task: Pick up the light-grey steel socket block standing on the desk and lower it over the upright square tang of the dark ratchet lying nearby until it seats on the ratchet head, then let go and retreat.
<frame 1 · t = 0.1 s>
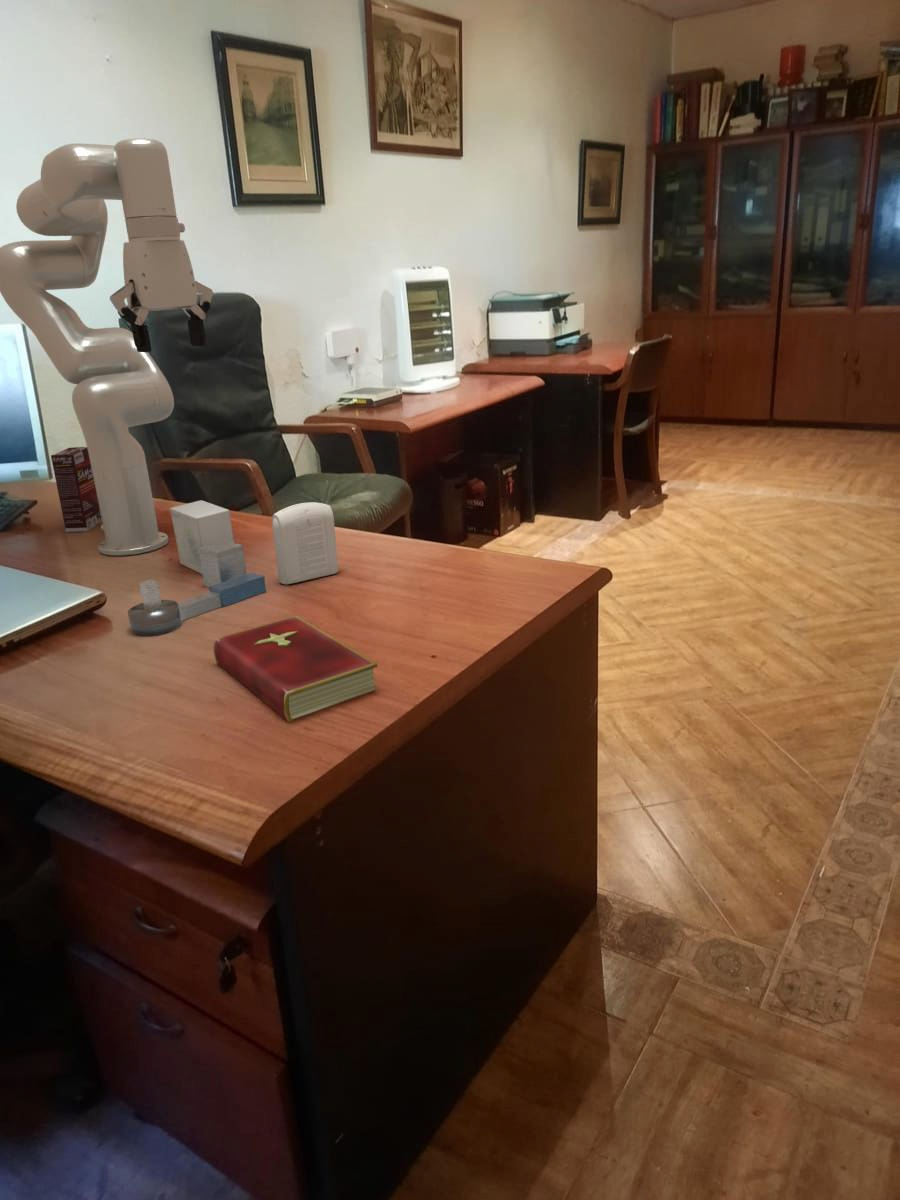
hand: (172, 348, 139), 37 cm above the table, tool pointing down, fingers open, 9 cm apart
hardcover book: (294, 681, 110), on the table
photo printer: (309, 578, 145), on the table
socket: (226, 584, 144), on the table
supplement box: (85, 527, 183), on the table
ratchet: (156, 626, 128), on the table
skincare box: (208, 567, 154), on the table
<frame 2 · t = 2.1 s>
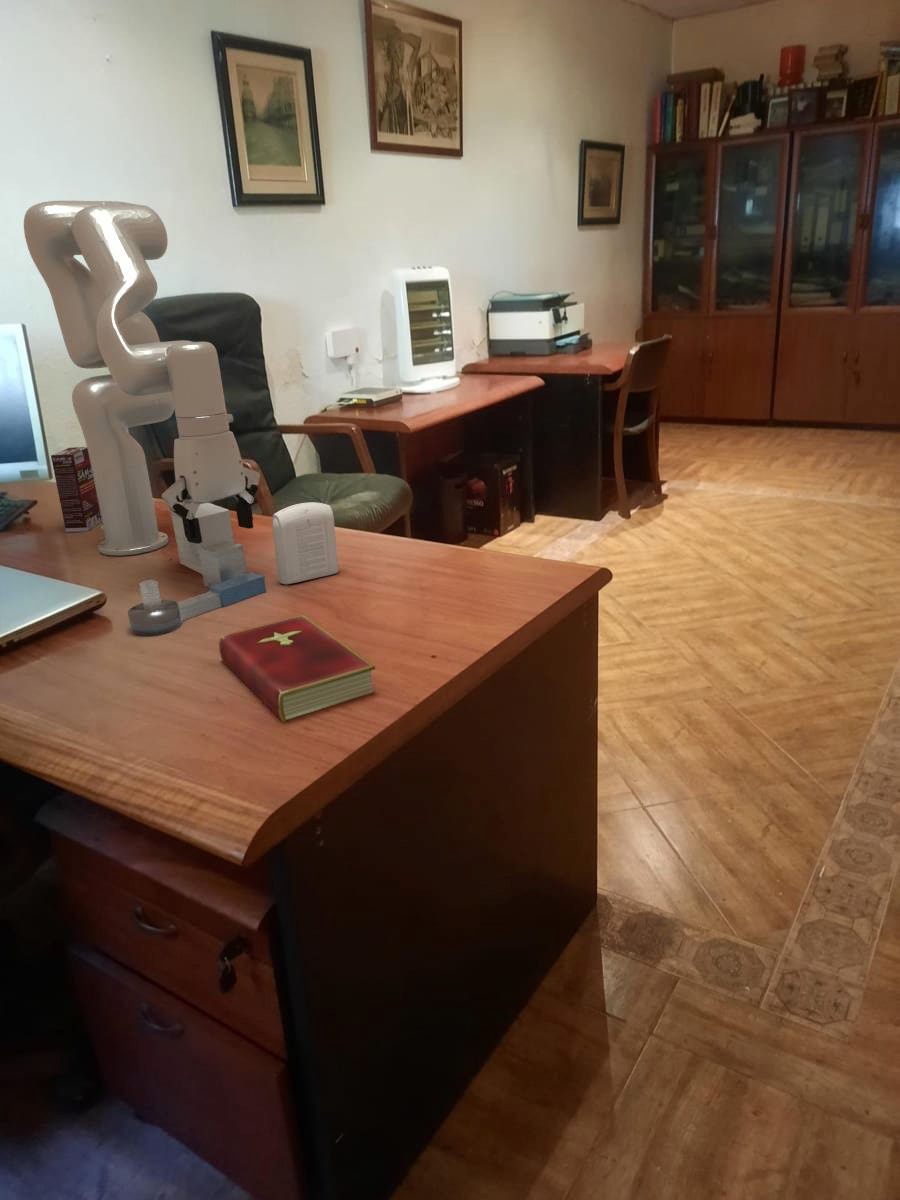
hand: (221, 534, 140), 9 cm above the table, tool pointing down, fingers open, 9 cm apart
nothing on the table moved.
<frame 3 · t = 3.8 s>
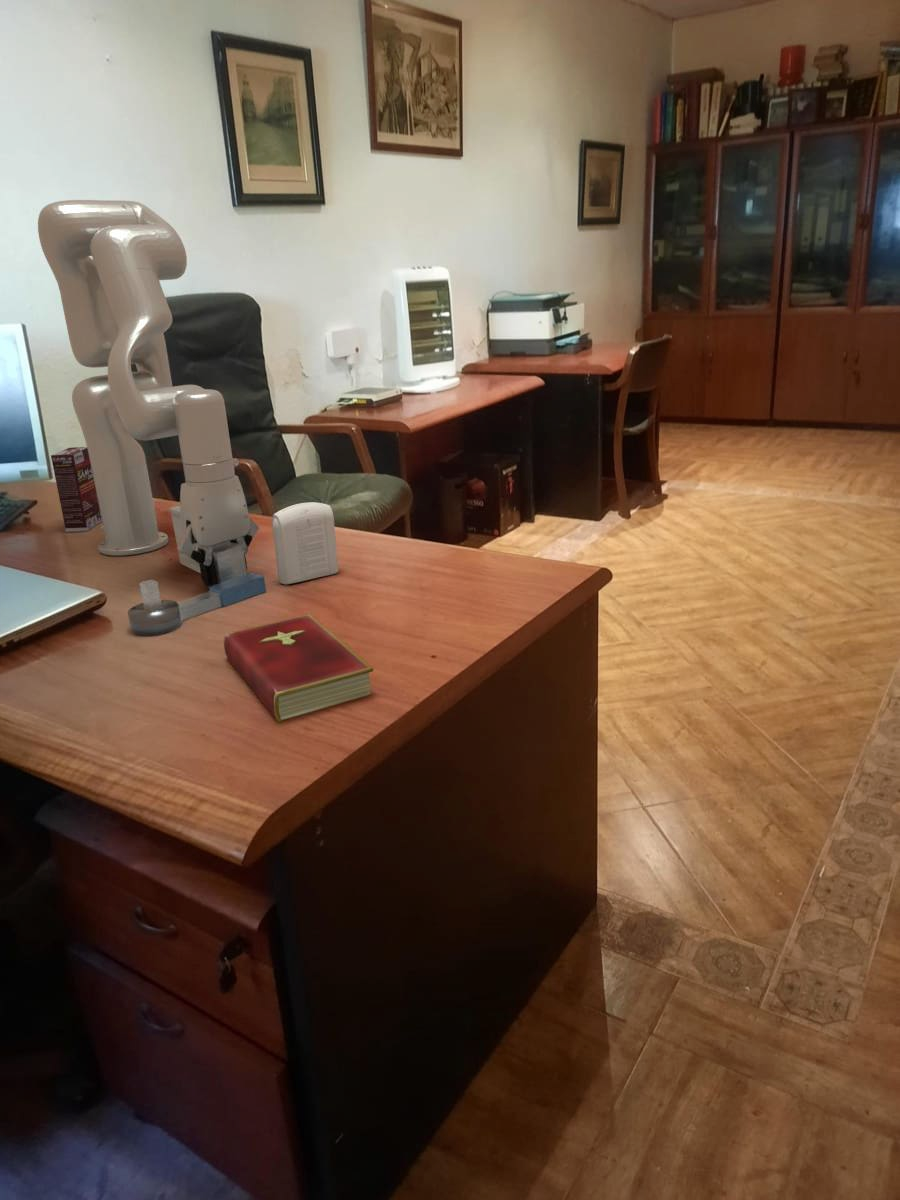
hand: (225, 580, 144), 1 cm above the table, tool pointing down, fingers closed on socket, 5 cm apart
socket: (226, 584, 144), on the table, touching gripper
everything else where it was.
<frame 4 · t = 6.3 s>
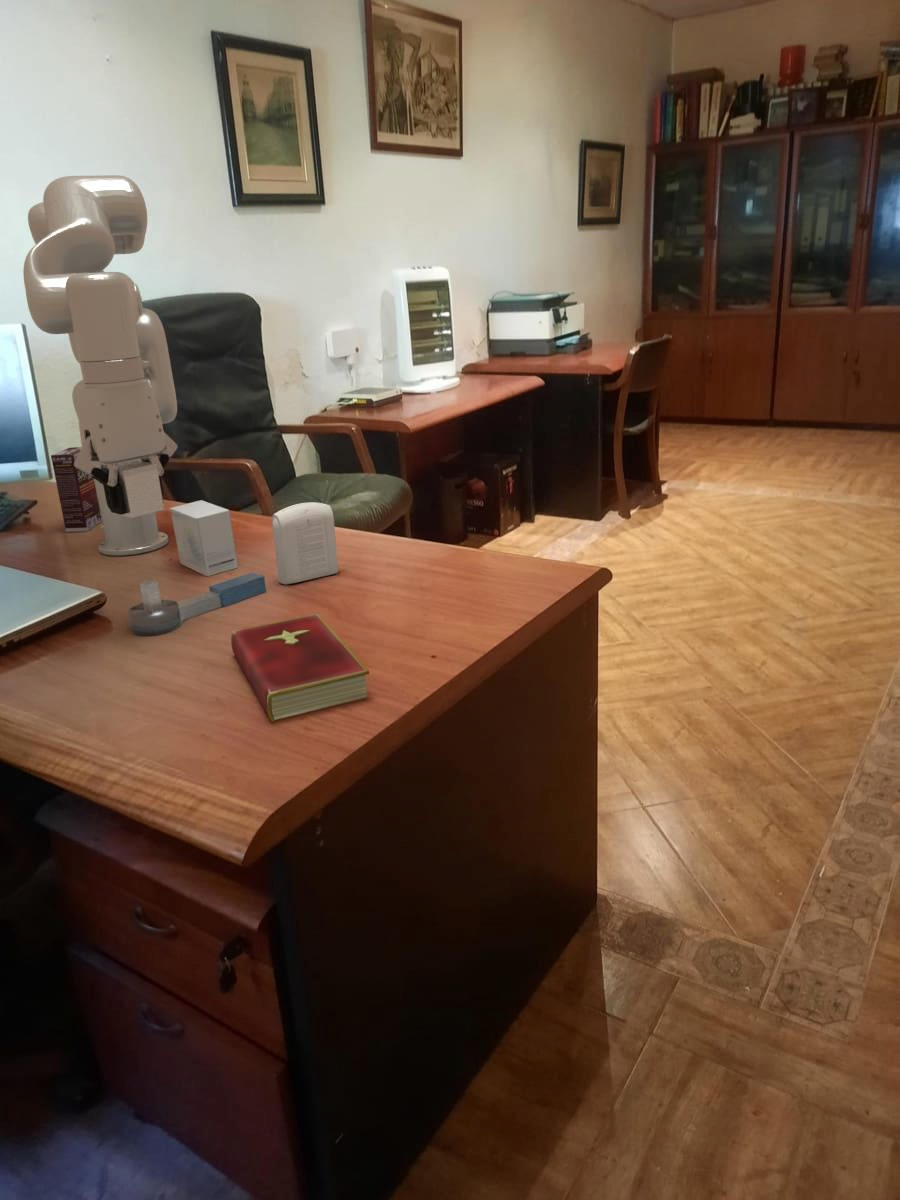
hand: (137, 506, 122), 18 cm above the table, tool pointing down, fingers closed on socket, 5 cm apart
socket: (138, 511, 122), point 17 cm above the table, touching gripper
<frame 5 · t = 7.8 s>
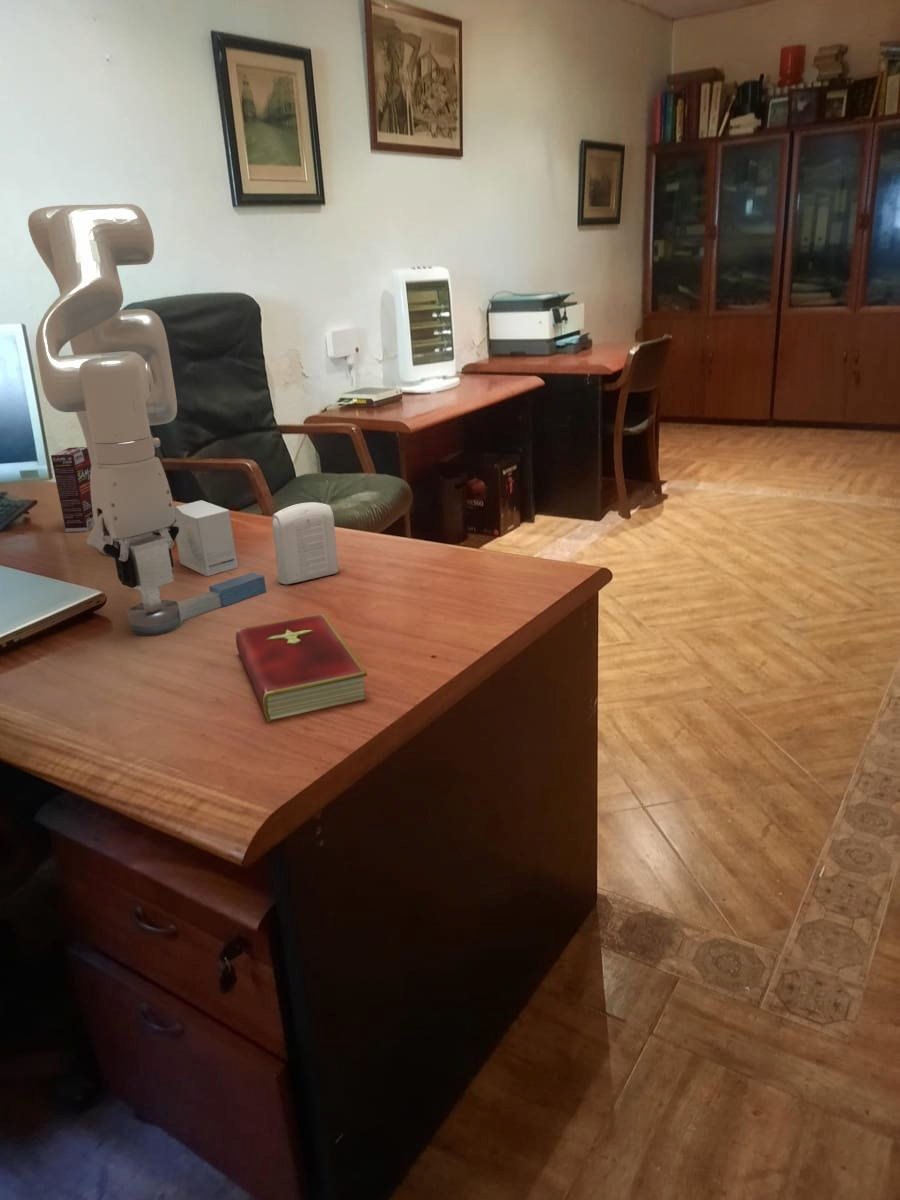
hand: (147, 578, 125), 7 cm above the table, tool pointing down, fingers closed on socket, 5 cm apart
socket: (148, 582, 125), point 7 cm above the table, touching gripper
when the fingers open (5 cm above the table, at t = 9.1 s): socket drops 1 cm, resting on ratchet.
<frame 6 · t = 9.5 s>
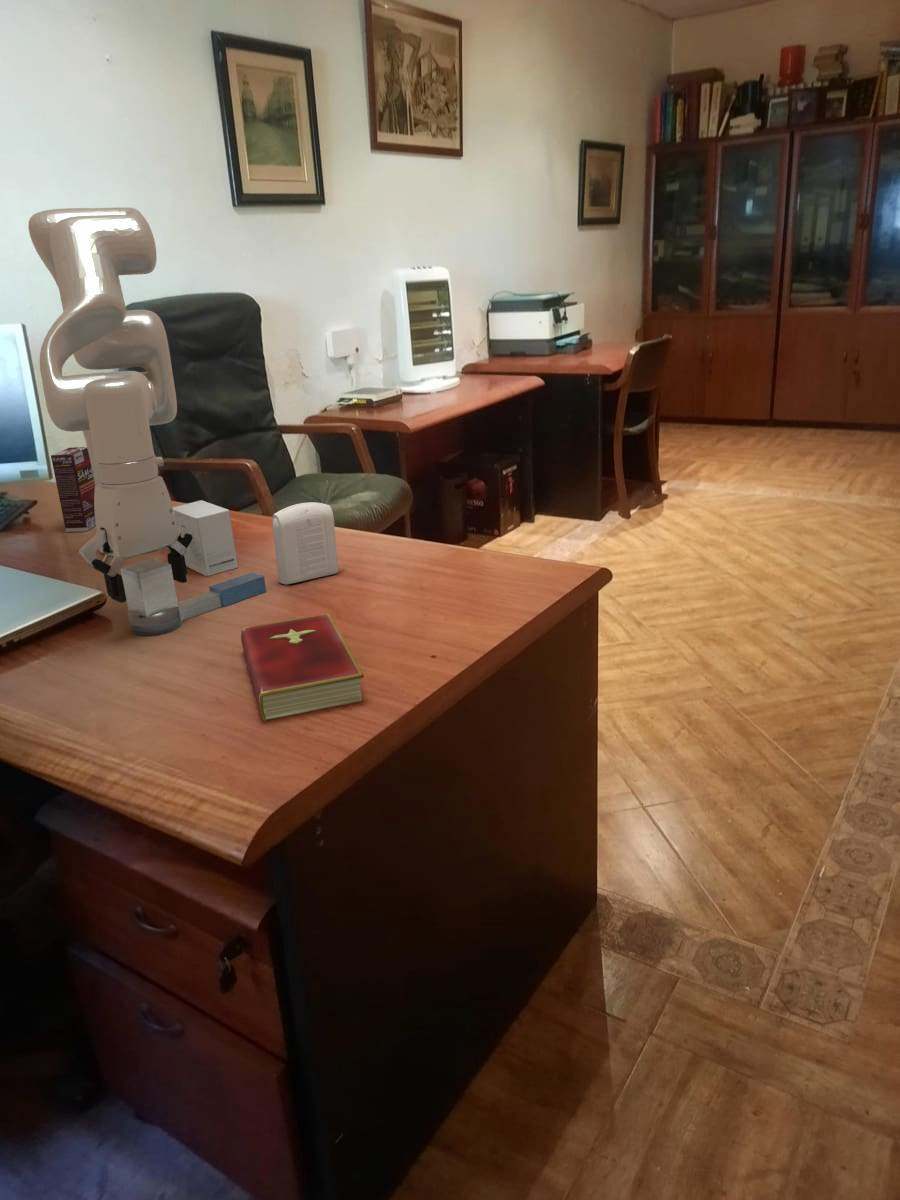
hand: (149, 590, 126), 6 cm above the table, tool pointing down, fingers open, 9 cm apart
socket: (153, 608, 127), point 3 cm above the table, touching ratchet
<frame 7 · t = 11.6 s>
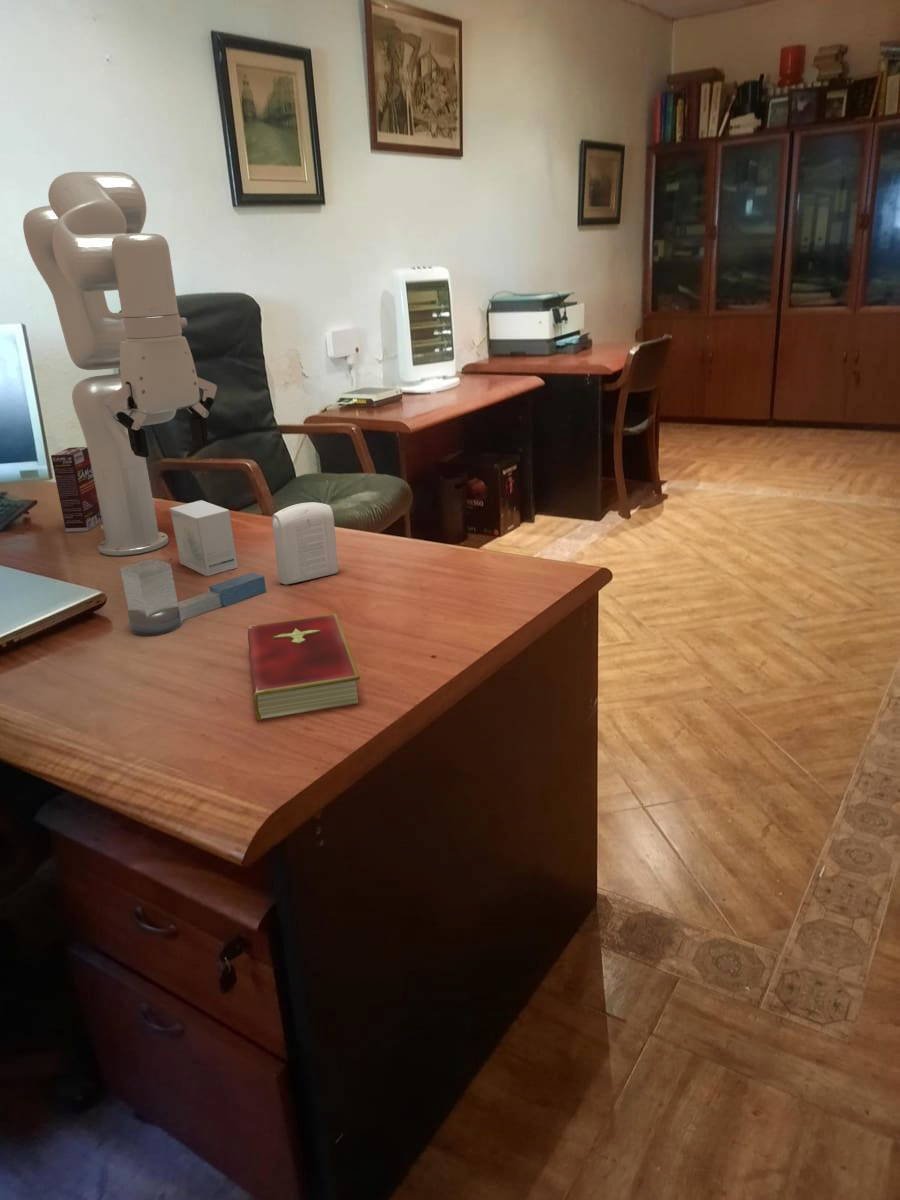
hand: (171, 449, 130), 23 cm above the table, tool pointing down, fingers open, 9 cm apart
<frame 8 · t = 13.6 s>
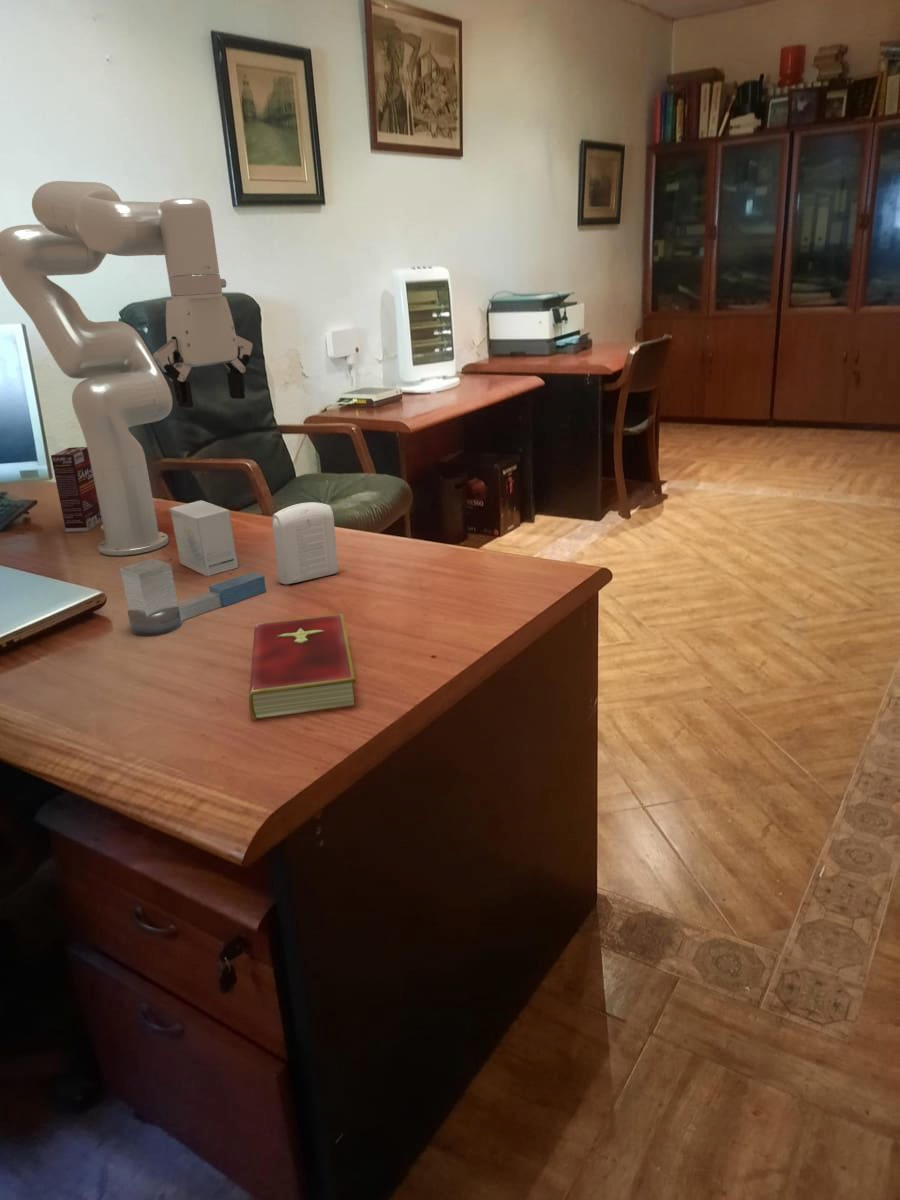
hand: (212, 402, 140), 28 cm above the table, tool pointing down, fingers open, 9 cm apart
at the end: socket 0.0 cm off-centre on the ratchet, point 2.8 cm above the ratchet's base; socket tilted 0°; the gripper is holding nothing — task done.
